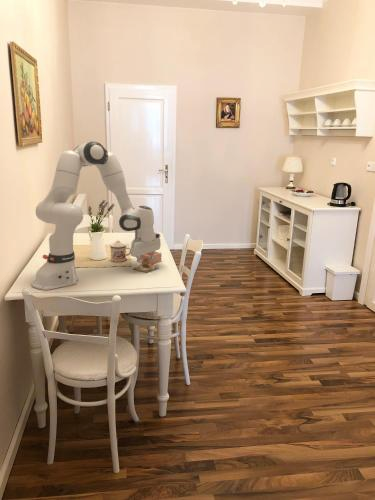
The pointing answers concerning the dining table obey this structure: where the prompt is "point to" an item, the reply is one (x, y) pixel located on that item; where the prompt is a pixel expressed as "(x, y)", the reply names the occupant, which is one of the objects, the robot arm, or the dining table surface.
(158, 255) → the pink hollow square box
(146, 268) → the lid
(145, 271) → the mat
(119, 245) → the teacup with lid
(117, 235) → the dining table surface
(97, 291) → the dining table surface
